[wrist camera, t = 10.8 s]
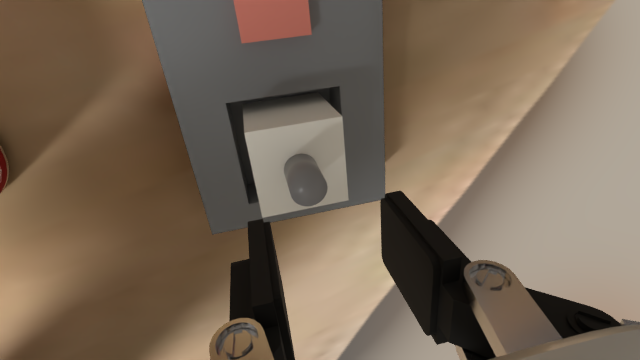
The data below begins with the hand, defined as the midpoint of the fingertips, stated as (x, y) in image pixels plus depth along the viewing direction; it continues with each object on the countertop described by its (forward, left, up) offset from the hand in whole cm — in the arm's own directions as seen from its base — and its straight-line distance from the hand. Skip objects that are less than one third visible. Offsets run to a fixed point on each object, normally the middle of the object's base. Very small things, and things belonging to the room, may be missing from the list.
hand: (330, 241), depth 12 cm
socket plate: (+3, 0, -13) cm, 14 cm away
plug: (0, 0, -13) cm, 13 cm away
